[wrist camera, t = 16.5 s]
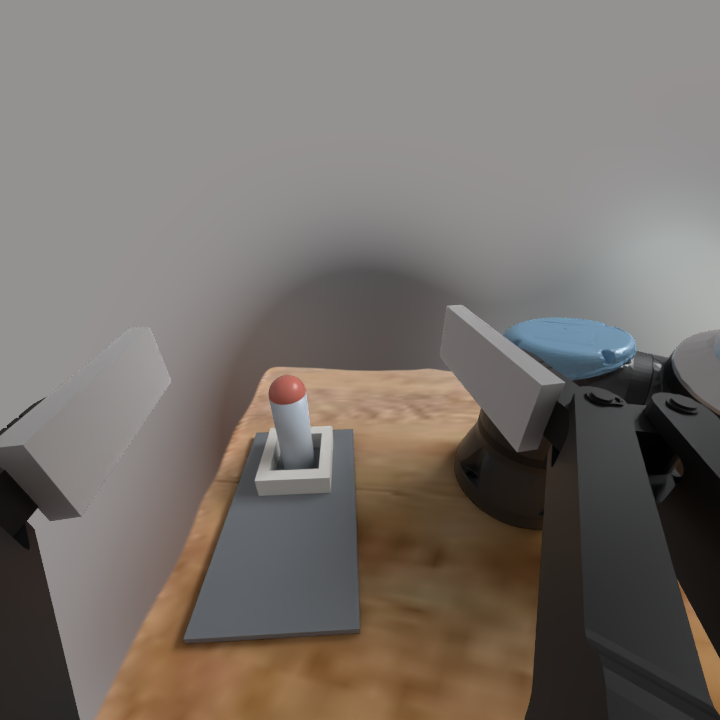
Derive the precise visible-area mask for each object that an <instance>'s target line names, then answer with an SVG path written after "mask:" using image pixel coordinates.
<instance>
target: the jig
mask: <svg viewBox="0 0 720 720" xmlns="http://www.w3.org/2000/svg"><path fill="white" fill-rule="evenodd" d="M311 434H312V442H313V450H314V458H315V467H314V469H298V470H284V467H283V462H282V457H281V452H280V448H279V443H278V438H277V433H276V428H270V432H266V433H256V436H255V439H254V441H253V444H252V447H251V450H250V453H249V456H248V458H247V461H246V464H245V467H244V470H243V472H242V475H241V478H240V481H239V484H238V487H237V489H236V492H235V495H234V498H233V501H232V504H231V506H230V509H229V512H228V515H227V518H226V520H225V523H224V526H223V529H222V532H221V535H220V537H219V540H218V543H217V546H216V549H215V551H214V554H213V557H212V560H211V563H210V566H209V568H208V571H207V574H206V577H205V580H204V582H203V585H202V588H201V591H200V594H199V597H198V599H197V602H196V605H195V608H194V611H193V613H192V616H191V619H190V622H189V625H188V628H187V630H186V633H185V636H184V639H183V640H184V641H185V642H186V644H190V643H207V642H223V641H239V640H256V639H272V638H288V637H304V636H321V635H337V634H353V633H360V612H359V583H358V555H357V526H356V497H355V469H354V440H353V429H345V430H332V426H316V427H311Z"/></svg>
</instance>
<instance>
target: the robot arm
mask: <svg viewBox="0 0 720 720" xmlns="http://www.w3.org/2000/svg"><path fill="white" fill-rule="evenodd" d="M440 357H441V358H442V360H443V361H444V362H445V363H446V365H447V366H448V367H449V368H450V370H451V371H452V372H453V373H454V375H455V376H456V377H457V378H458V380H459V381H460V382H461V383H462V385H463V386H464V387H465V388H466V390H467V391H468V392H469V393H470V395H471V396H472V397H473V398H474V399H475V401H476V402H477V403H478V404H479V406H480V407H481V411H480V415H479V419H478V421H477V422H476V424H475V425H474V426H473V427H472V429H471V430H470V431H469V432H468V433H467V435H466V436H465V437H464V438H463V440H462V441H461V443H460V444H459V446H458V449H457V453H456V458H455V463H454V467H455V474H456V477H457V480H458V482H459V484H460V486H461V488H462V489H463V491H464V492H465V493H466V495H467V496H468V497H469V498H470V499H471V500H472V501H473V502H474V503H475V504H476V505H477V506H478V507H479V508H481V509H482V510H483V511H485V512H486V513H488V514H489V515H491V516H492V517H494V518H496V519H498V520H500V521H502V522H505V523H507V524H510V525H513V526H516V527H521V528H526V529H543V533H542V548H541V563H540V579H539V594H538V609H537V624H536V640H535V655H534V670H533V684H532V693H531V698H530V702H529V706H528V709H527V712H526V716H525V720H720V715H719V714H718V712H717V711H716V709H715V708H714V706H713V703H712V700H711V698H710V695H709V692H708V688H707V685H706V681H705V678H704V674H703V671H702V667H701V664H700V660H699V656H698V653H697V649H696V646H695V642H694V639H693V635H692V631H691V628H690V624H689V621H688V617H687V614H686V610H685V607H684V603H683V599H682V596H681V592H680V589H679V585H678V582H677V579H678V581H679V583H680V585H681V587H682V589H683V591H684V593H685V594H686V596H687V598H688V600H689V602H690V604H691V606H692V607H693V609H694V611H695V613H696V615H697V617H698V619H699V621H700V622H701V624H702V626H703V628H704V630H705V632H706V634H707V635H708V637H709V639H710V641H711V643H712V645H713V647H714V649H715V650H716V652H717V654H718V656H719V658H720V330H713V331H707V332H702V333H698V334H696V335H693V336H691V337H689V338H686V339H685V340H684V341H683V342H681V343H680V344H679V345H678V347H677V348H676V349H675V350H674V352H673V353H672V354H671V356H670V357H669V358H667V357H663V356H658V355H653V354H647V353H643V352H638V351H637V348H636V343H635V340H634V338H633V337H632V336H631V335H630V334H629V333H627V332H625V331H624V330H621V329H619V328H617V327H611V326H607V325H606V324H604V323H601V322H596V321H591V320H585V319H576V318H540V319H535V320H528V321H524V322H521V323H518V324H516V325H514V326H512V327H510V328H509V329H508V330H506V331H505V333H504V334H503V335H501V334H500V333H498V332H497V331H496V330H495V329H493V328H492V327H490V326H489V325H488V324H486V323H485V322H484V321H483V320H481V319H480V318H479V317H477V316H476V315H475V314H473V313H472V312H471V311H469V310H468V309H467V308H465V307H464V306H463V305H456V306H455V305H454V306H447V309H446V315H445V322H444V329H443V335H442V342H441V349H440ZM170 383H171V379H170V376H169V374H168V371H167V369H166V366H165V364H164V361H163V359H162V356H161V354H160V351H159V349H158V346H157V344H156V341H155V339H154V336H153V334H152V331H151V329H150V327H140V328H129V329H128V330H127V331H126V332H124V333H123V334H122V335H121V336H120V337H118V338H117V339H116V340H115V341H114V342H112V343H111V344H110V345H109V346H108V347H106V348H105V349H104V350H103V351H102V352H100V353H99V354H98V355H97V356H96V357H94V358H93V359H92V360H91V361H89V362H88V363H87V364H86V365H85V366H83V367H82V368H81V369H80V370H79V371H77V372H76V373H75V374H74V375H73V376H71V377H70V378H69V379H68V380H67V381H66V382H64V383H63V384H62V385H61V386H59V387H58V388H57V389H56V390H55V391H53V392H52V393H51V394H50V395H49V396H47V397H46V398H43V399H42V400H40V401H38V402H37V403H34V404H33V405H32V406H30V407H29V408H28V409H27V410H25V411H24V412H23V413H22V414H20V416H19V418H16V419H14V420H13V421H12V422H11V423H10V424H8V425H7V428H3V429H2V430H1V431H0V720H80V719H79V715H78V710H77V706H76V702H75V698H74V694H73V690H72V685H71V681H70V677H69V672H68V669H67V664H66V660H65V656H64V651H63V648H62V643H61V639H60V635H59V630H58V626H57V622H56V618H55V614H54V609H53V605H52V601H51V597H50V592H49V588H48V584H47V580H46V576H45V571H44V567H43V563H42V559H41V555H40V550H39V546H38V542H37V538H36V534H35V529H34V528H33V527H32V526H31V525H30V524H29V523H28V522H27V520H28V519H29V517H30V516H31V515H32V514H33V513H34V511H35V510H36V509H37V508H38V509H39V510H40V511H41V512H42V513H43V514H44V515H45V516H46V517H47V518H48V519H49V521H55V520H62V519H68V518H75V517H81V516H82V515H83V513H84V512H85V511H86V509H87V508H88V506H89V505H90V503H91V502H92V500H93V499H94V497H95V496H96V494H97V493H98V491H99V489H100V488H101V487H102V485H103V483H104V482H105V481H106V479H107V477H108V476H109V475H110V473H111V471H112V470H113V468H114V467H115V465H116V464H117V462H118V461H119V459H120V458H121V456H122V455H123V453H124V452H125V450H126V449H127V447H128V446H129V444H130V443H131V441H132V440H133V438H134V437H135V435H136V434H137V432H138V431H139V429H140V428H141V426H142V425H143V423H144V422H145V420H146V419H147V417H148V416H149V414H150V413H151V411H152V410H153V408H154V407H155V405H156V404H157V402H158V401H159V399H160V398H161V396H162V394H163V393H164V392H165V390H166V389H167V387H168V386H169V384H170Z"/></svg>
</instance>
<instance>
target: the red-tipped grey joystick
mask: <svg viewBox="0 0 720 720" xmlns="http://www.w3.org/2000/svg"><path fill="white" fill-rule="evenodd" d="M269 400H270V404H271V409H272V414H273V419H274V424H275V428H276V433H277V438H278V443H279V448H280V452H281V457H282V462H283V467H284V470H298V469H314V467H315V458H314V450H313V442H312V434H311V427H310V419H309V411H308V403H307V396H306V389H305V386H304V384H303V382H302V381H301V380H300V379H298V378H297V377H295V376H291V375H284V376H281V377H279V378H277V379H276V380H275V381H274V382H273V383H272V384H271V386H270V389H269Z"/></svg>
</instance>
